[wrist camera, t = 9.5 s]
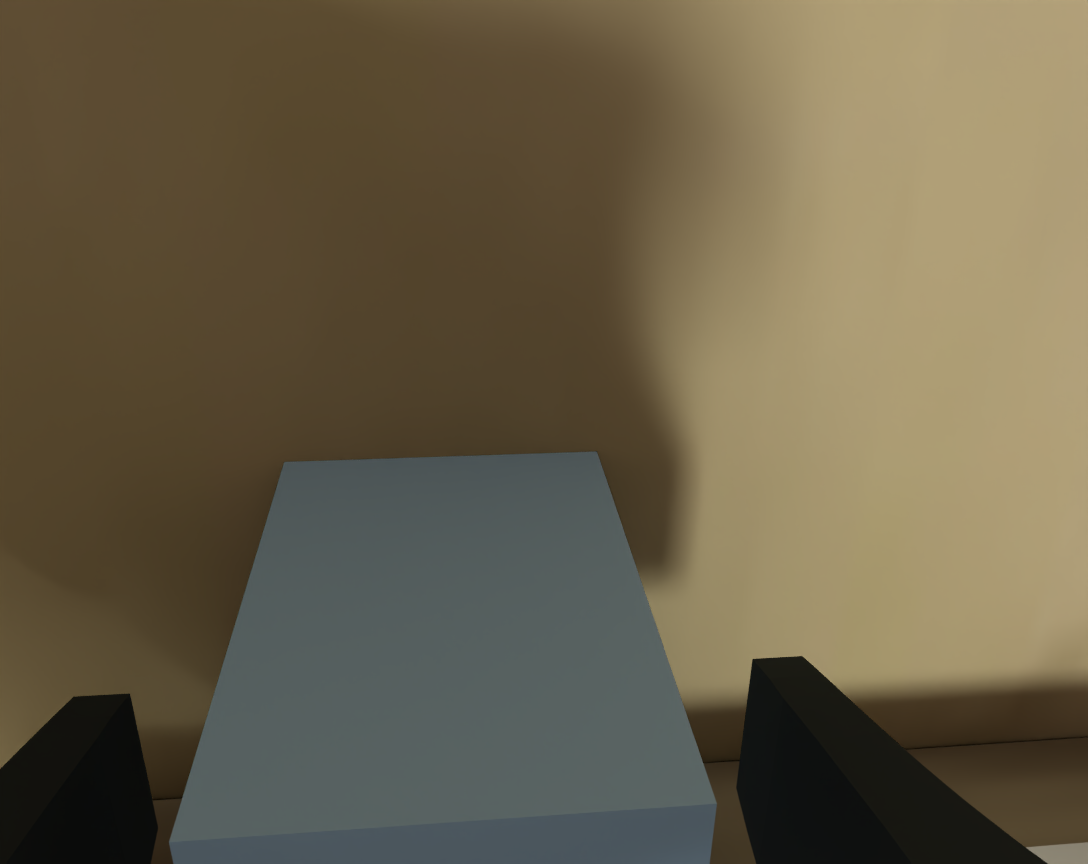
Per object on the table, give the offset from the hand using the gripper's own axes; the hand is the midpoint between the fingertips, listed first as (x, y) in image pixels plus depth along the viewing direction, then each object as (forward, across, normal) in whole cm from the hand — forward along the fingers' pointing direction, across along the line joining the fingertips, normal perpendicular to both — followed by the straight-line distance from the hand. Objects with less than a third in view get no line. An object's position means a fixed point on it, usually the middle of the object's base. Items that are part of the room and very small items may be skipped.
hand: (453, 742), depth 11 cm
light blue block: (+2, 0, +1) cm, 3 cm away
